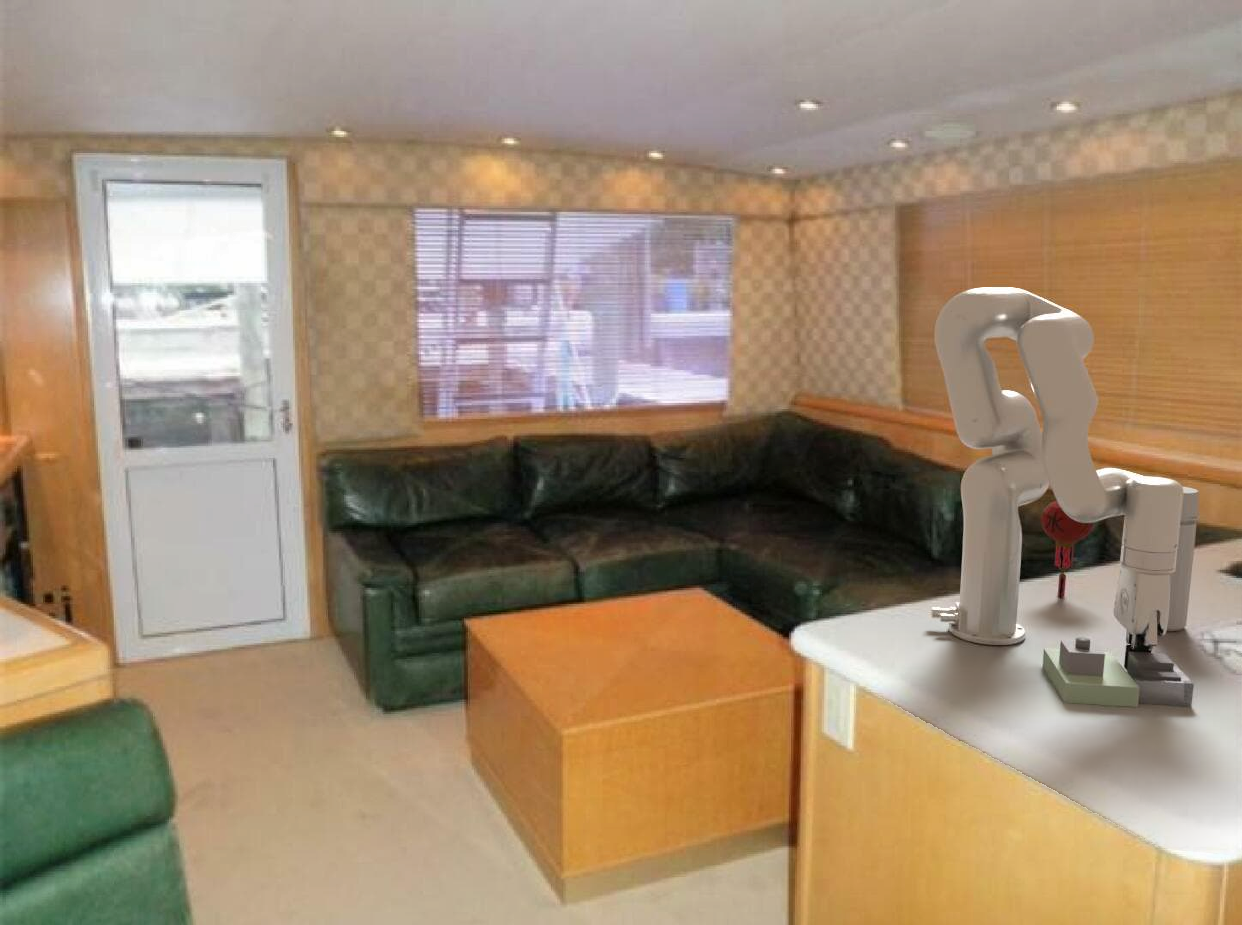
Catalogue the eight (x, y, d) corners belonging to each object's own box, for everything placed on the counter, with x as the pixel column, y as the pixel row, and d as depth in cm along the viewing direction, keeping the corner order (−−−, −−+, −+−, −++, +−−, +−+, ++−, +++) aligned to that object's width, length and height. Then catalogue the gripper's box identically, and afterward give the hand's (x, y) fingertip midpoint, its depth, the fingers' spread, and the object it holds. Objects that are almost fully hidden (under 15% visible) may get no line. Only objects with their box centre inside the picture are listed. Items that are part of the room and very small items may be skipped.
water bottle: (1187, 636, 172) (1201, 495, 167) (1136, 628, 176) (1149, 490, 171) (1189, 620, 179) (1203, 486, 175) (1141, 613, 183) (1153, 481, 179)
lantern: (1097, 598, 192) (1110, 446, 187) (1068, 607, 187) (1080, 451, 182) (1054, 585, 200) (1065, 439, 194) (1024, 593, 195) (1035, 444, 189)
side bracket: (1134, 702, 145) (1136, 680, 144) (1116, 679, 153) (1118, 658, 153) (1191, 706, 144) (1193, 683, 143) (1170, 683, 152) (1172, 661, 151)
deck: (1064, 702, 145) (1068, 652, 144) (1042, 666, 159) (1046, 620, 157) (1137, 707, 144) (1142, 656, 142) (1109, 670, 157) (1113, 623, 156)
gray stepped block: (1142, 701, 146) (1145, 669, 145) (1126, 682, 153) (1128, 651, 152) (1178, 703, 145) (1181, 671, 144) (1160, 684, 152) (1163, 653, 151)
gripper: (1106, 544, 159) (1096, 651, 162) (1138, 571, 144) (1126, 689, 148) (1156, 546, 157) (1145, 654, 161) (1193, 573, 143) (1180, 692, 146)
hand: (1136, 670), depth 154 cm, fingers closed
